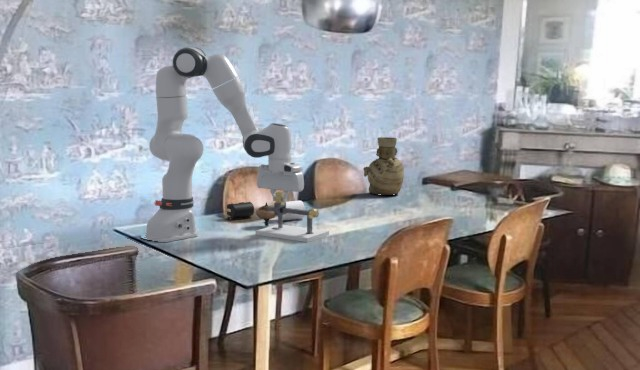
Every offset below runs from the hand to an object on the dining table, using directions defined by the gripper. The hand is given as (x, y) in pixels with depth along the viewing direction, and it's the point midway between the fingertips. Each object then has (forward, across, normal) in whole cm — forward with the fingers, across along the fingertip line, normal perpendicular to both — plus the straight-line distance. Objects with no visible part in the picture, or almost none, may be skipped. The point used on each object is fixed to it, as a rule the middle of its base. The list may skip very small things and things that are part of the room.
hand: (280, 201), depth 270 cm
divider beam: (+11, +6, 0) cm, 12 cm away
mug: (+13, -10, +24) cm, 29 cm away
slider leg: (+11, 0, 0) cm, 11 cm away
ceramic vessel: (+12, -10, +108) cm, 109 cm away
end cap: (+13, -32, +16) cm, 38 cm away
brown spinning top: (+13, -12, +8) cm, 19 cm away
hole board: (+12, +6, 0) cm, 14 cm away
